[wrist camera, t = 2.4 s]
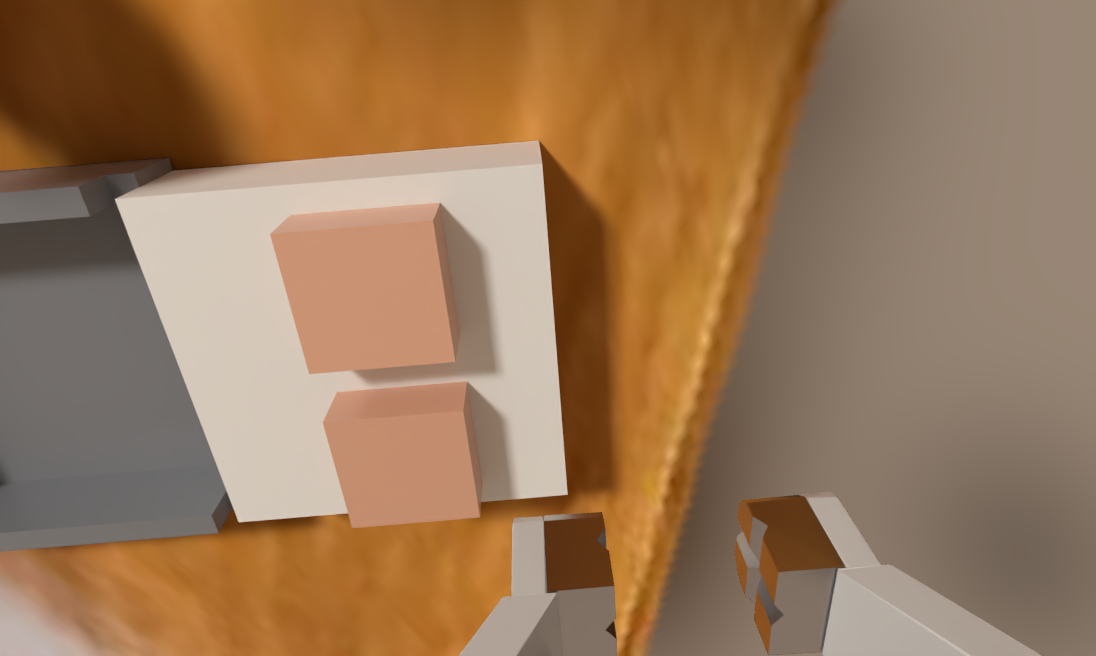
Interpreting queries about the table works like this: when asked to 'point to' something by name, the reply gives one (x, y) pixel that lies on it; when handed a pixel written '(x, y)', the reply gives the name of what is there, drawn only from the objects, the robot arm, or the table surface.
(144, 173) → the box
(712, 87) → the table surface
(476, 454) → the tile
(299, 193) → the raised plate
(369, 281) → the tile
